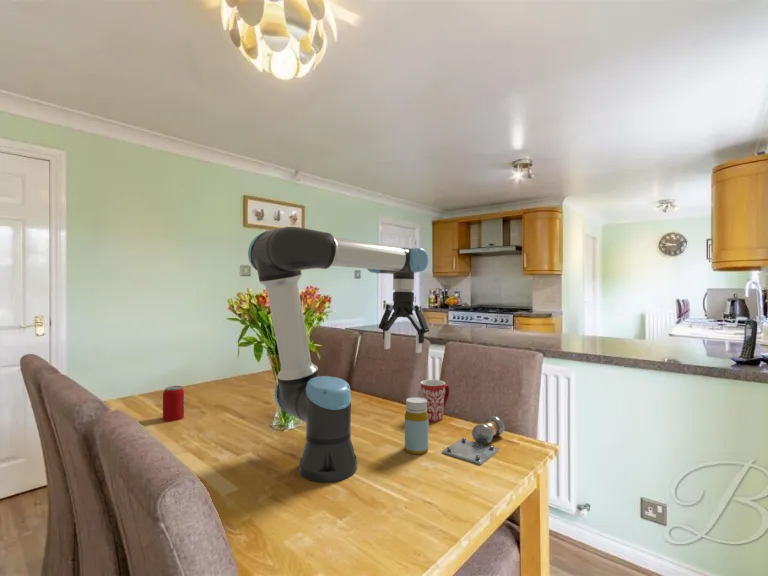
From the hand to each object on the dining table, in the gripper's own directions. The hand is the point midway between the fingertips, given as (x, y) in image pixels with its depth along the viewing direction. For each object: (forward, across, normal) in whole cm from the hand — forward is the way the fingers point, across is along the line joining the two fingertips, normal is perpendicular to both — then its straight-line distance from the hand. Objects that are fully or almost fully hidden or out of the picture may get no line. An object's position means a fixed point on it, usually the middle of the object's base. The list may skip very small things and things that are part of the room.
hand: (402, 350), depth 141 cm
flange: (+26, -30, +8) cm, 41 cm away
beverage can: (+27, +67, +48) cm, 87 cm away
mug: (+26, -7, -12) cm, 29 cm away
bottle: (+26, -17, +17) cm, 36 cm away
